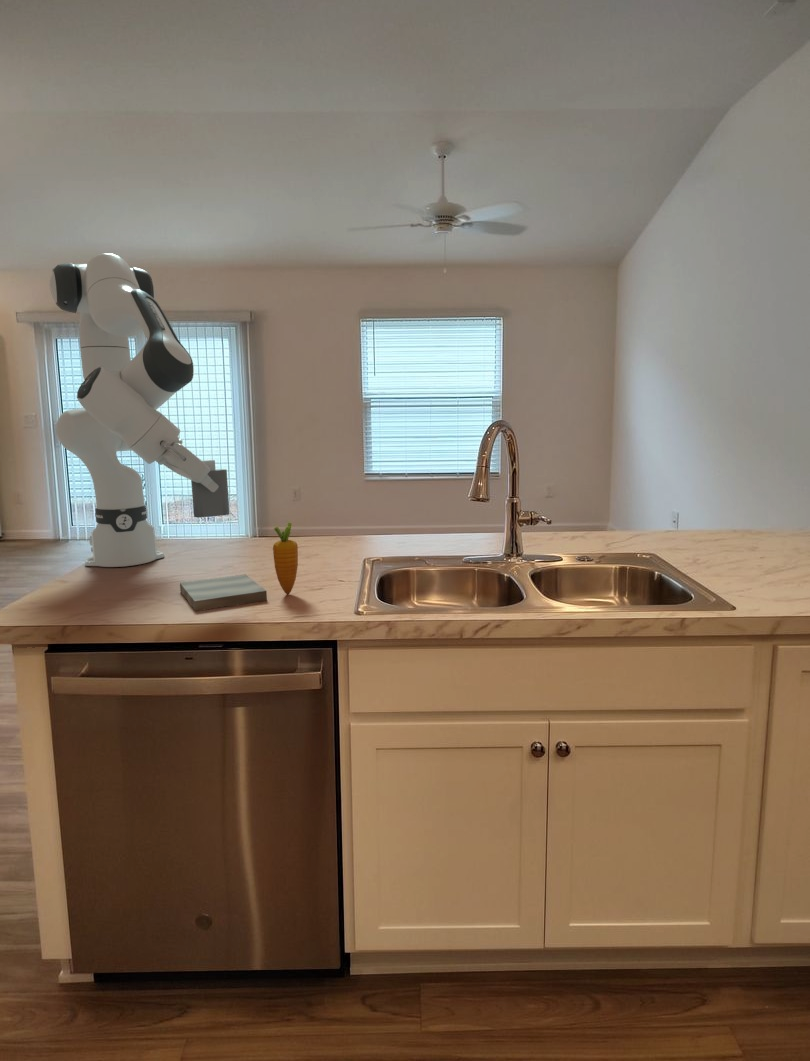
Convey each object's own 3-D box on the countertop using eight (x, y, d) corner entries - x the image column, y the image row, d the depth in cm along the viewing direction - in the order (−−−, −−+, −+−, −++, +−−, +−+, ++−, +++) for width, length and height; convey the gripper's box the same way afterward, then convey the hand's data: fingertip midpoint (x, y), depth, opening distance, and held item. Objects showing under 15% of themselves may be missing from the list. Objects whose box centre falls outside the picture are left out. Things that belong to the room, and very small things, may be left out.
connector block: (195, 517, 132) (191, 461, 130) (192, 515, 134) (188, 460, 132) (231, 514, 135) (227, 460, 133) (227, 512, 138) (224, 459, 136)
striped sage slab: (180, 591, 142) (179, 582, 141) (246, 582, 148) (245, 574, 148) (195, 611, 128) (194, 601, 128) (266, 600, 134) (266, 590, 134)
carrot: (276, 598, 135) (272, 525, 133) (274, 592, 140) (270, 521, 137) (301, 596, 137) (298, 524, 134) (298, 590, 141) (294, 520, 139)
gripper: (178, 430, 119) (236, 481, 125) (160, 427, 137) (212, 472, 143) (154, 456, 118) (214, 506, 124) (139, 450, 136) (192, 495, 142)
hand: (213, 488), depth 134 cm, fingers closed on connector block, 3 cm apart
